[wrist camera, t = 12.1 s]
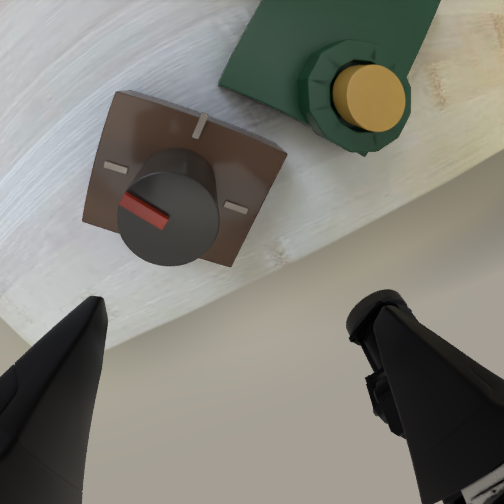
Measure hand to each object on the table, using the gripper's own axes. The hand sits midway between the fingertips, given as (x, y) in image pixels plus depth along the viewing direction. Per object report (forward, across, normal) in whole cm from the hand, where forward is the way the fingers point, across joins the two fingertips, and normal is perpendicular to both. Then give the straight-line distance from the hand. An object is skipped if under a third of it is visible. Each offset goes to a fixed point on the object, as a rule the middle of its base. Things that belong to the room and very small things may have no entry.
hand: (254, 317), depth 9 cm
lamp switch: (+9, -6, -7) cm, 13 cm away
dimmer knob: (+9, +3, 0) cm, 10 cm away
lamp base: (+12, -6, -13) cm, 19 cm away
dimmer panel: (+12, +3, 0) cm, 13 cm away
